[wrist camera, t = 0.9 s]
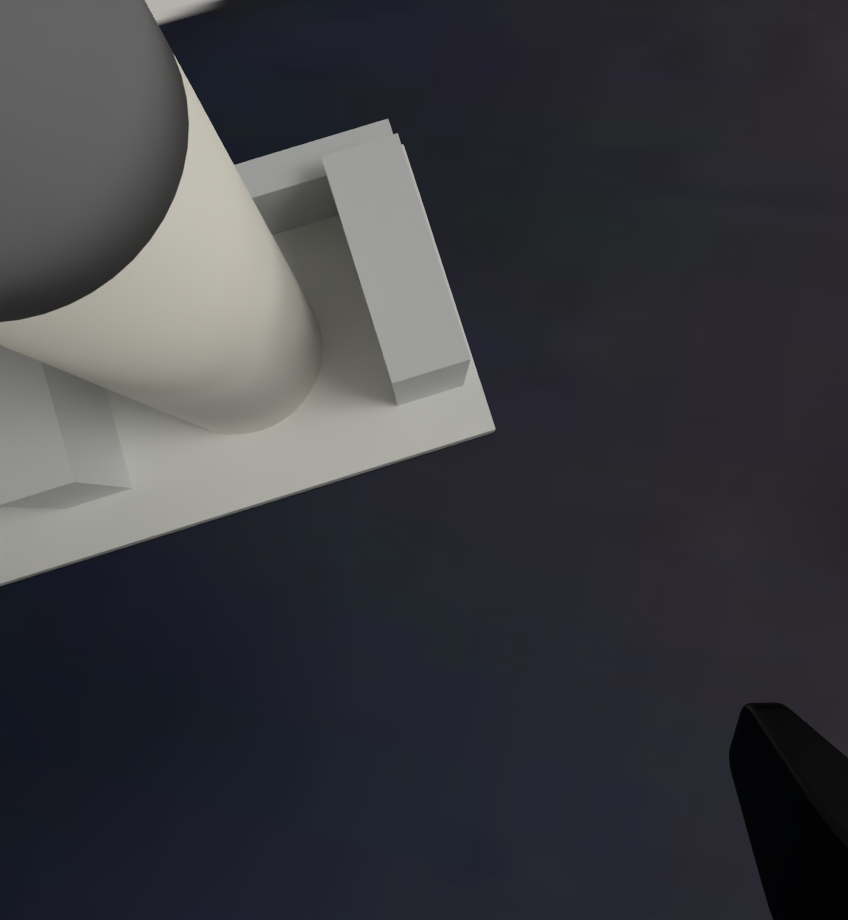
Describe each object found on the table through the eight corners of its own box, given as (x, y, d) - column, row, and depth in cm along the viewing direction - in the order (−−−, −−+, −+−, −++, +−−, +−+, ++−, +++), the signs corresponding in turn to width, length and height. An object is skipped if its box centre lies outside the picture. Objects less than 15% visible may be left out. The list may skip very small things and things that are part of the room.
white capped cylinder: (271, 464, 21) (-37, 355, 7) (121, 385, 21) (-468, 128, 7) (352, 314, 21) (212, -74, 7) (204, 237, 22) (-205, -281, 8)
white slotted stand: (493, 432, 22) (511, 408, 17) (-252, 664, 21) (-448, 707, 17) (404, 157, 23) (398, 60, 18) (-319, 376, 22) (-525, 337, 17)
